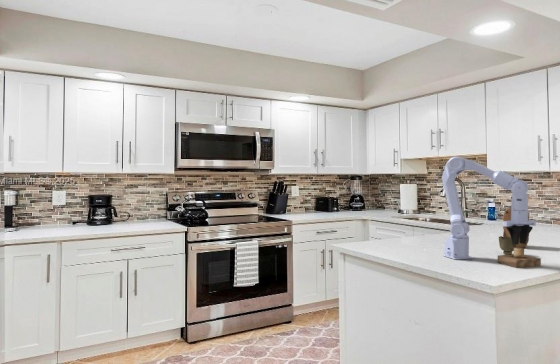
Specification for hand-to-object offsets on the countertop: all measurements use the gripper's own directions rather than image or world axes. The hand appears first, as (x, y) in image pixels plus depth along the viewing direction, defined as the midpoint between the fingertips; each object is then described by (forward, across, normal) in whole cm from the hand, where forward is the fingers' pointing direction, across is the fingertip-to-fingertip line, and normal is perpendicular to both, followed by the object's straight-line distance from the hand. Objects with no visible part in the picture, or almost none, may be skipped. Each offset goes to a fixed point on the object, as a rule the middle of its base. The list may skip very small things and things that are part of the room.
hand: (519, 243), depth 152 cm
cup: (+9, +12, +17) cm, 23 cm away
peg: (+8, 0, 0) cm, 8 cm away
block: (+9, +32, +32) cm, 46 cm away
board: (+8, 0, 0) cm, 8 cm away
